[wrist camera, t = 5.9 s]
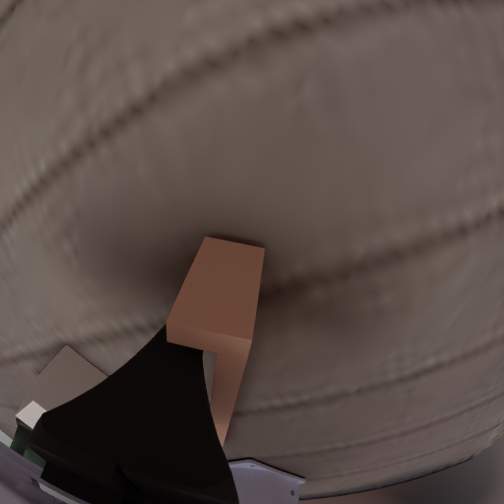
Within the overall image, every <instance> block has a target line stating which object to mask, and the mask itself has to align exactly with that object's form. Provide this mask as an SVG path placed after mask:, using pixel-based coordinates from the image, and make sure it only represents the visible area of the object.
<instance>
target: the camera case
mask: <svg viewBox="0 0 504 504" xmlns="http://www.w3.org/2000/svg"><path fill="white" fill-rule="evenodd" d="M107 377H108V376H107V375H105V374H104V373H102V372H101V371H100V370H98V369H97V368H96V367H94V366H93V365H92V364H91V363H89V362H88V361H87V360H85V359H84V358H83V357H82V356H80V355H79V354H78V353H77V352H75V351H74V350H73V349H72V348H71V347H69V346H68V345H67V344H66V345H65V346H64V347H63V348H62V349H61V351H60V352H59V353H58V354H57V355H56V356H55V357H54V358H53V359H52V360H51V361H50V363H49V364H48V365H47V366H46V367H45V368H44V369H43V370H42V371H41V373H40V374H39V375H38V376H37V378H36V379H35V381H34V383H33V384H32V386H31V388H30V390H29V391H28V393H27V395H26V397H25V398H24V400H23V402H22V404H21V406H20V407H19V409H18V411H17V413H16V415H15V416H16V417H18V418H19V419H20V420H21V421H23V422H24V423H25V424H27V425H28V426H29V427H31V428H32V429H33V428H34V426H35V424H36V422H37V421H38V419H39V418H40V417H41V415H42V413H44V412H47V411H49V410H51V409H53V408H55V407H58V406H60V405H62V404H64V403H66V402H68V401H70V400H72V399H74V398H76V397H77V396H79V395H81V394H83V393H84V392H86V391H88V390H90V389H91V388H93V387H94V386H96V385H97V384H99V383H100V382H102V381H103V380H105V379H106V378H107Z"/></svg>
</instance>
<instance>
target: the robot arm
mask: <svg viewBox="0 0 504 504" xmlns="http://www.w3.org/2000/svg"><path fill="white" fill-rule="evenodd" d="M202 356H203V350H200V349H196V348H192V347H188V346H183V345H179V344H175V343H171V342H167V330H166V324H165V325H164V326H163V327H162V329H161V330H160V331H159V332H158V333H157V334H156V335H155V336H154V337H153V338H152V339H151V340H150V341H149V342H148V343H147V344H146V345H145V346H144V347H143V348H142V349H141V350H140V351H139V352H138V353H137V354H136V355H135V356H134V357H132V358H131V359H130V360H129V361H128V362H127V363H126V364H124V365H123V366H122V367H121V368H119V369H118V370H117V371H116V372H114V373H113V374H112V375H110V376H109V377H107V378H106V379H105V380H103V381H102V382H100V383H99V384H97V385H96V386H94V387H93V388H91V389H90V390H88V391H86V392H84V393H83V394H81V395H79V396H77V397H76V398H74V399H72V400H70V401H68V402H66V403H64V404H62V405H60V406H58V407H55V408H53V409H51V410H49V411H47V412H44V413H42V415H41V417H40V418H39V419H38V421H37V422H36V424H35V426H34V428H33V430H32V432H31V434H30V437H29V439H28V441H27V444H28V446H29V447H30V448H31V449H32V450H33V451H34V452H35V453H36V454H38V455H39V456H40V457H41V458H42V459H44V460H45V461H46V464H45V466H44V469H43V468H41V467H40V466H38V465H36V464H35V463H33V462H31V461H29V460H28V459H26V458H25V457H23V456H21V455H20V454H18V453H17V452H15V451H14V450H12V449H11V448H9V447H8V446H6V445H5V444H3V443H2V442H0V504H67V503H66V502H64V501H62V500H60V499H58V498H55V497H54V496H52V495H50V494H48V493H47V492H44V491H43V490H41V488H40V486H39V483H41V484H43V485H45V486H47V487H48V488H50V489H52V490H54V491H56V492H58V493H59V494H61V495H63V496H65V497H67V498H69V499H71V500H73V501H75V502H78V503H80V504H298V499H299V484H303V483H306V479H303V478H300V477H297V476H294V475H291V474H288V473H285V472H283V471H280V470H277V469H274V468H272V467H269V466H266V465H264V464H261V463H259V462H256V461H254V460H250V459H247V460H240V461H234V462H227V459H226V457H225V454H224V452H223V449H222V446H221V443H220V440H219V437H218V434H217V431H216V427H215V424H214V421H213V417H212V413H211V409H210V405H209V400H208V395H207V390H206V384H205V378H204V369H203V358H202ZM37 481H38V482H39V483H38V482H37Z"/></svg>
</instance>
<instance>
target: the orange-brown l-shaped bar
mask: <svg viewBox="0 0 504 504" xmlns="http://www.w3.org/2000/svg"><path fill="white" fill-rule="evenodd" d="M264 252H265V248H260V247H255V246H250V245H245V244H240V243H235V242H230V241H225V240H220V239H215V238H210V237H205V238H204V240H203V242H202V245H201V247H200V249H199V251H198V253H197V255H196V257H195V259H194V261H193V264H192V266H191V268H190V270H189V272H188V274H187V276H186V279H185V281H184V283H183V285H182V287H181V289H180V292H179V294H178V296H177V298H176V300H175V303H174V305H173V307H172V309H171V312H170V314H169V316H168V318H167V321H166V330H167V342H171V343H175V344H179V345H183V346H188V347H192V348H196V349H200V350H205V351H209V352H214V353H218V354H217V360H216V367H215V374H214V381H213V389H212V396H211V403H210V409H211V413H212V417H213V421H214V424H215V427H216V431H217V434H218V437H219V440H220V443H221V446H222V448H223V444H224V441H225V438H226V434H227V431H228V427H229V423H230V420H231V416H232V413H233V409H234V406H235V402H236V399H237V395H238V391H239V388H240V384H241V380H242V377H243V373H244V369H245V366H246V362H247V358H248V355H249V351H250V347H251V343H252V339H253V332H254V325H255V318H256V311H257V303H258V296H259V289H260V282H261V274H262V267H263V260H264Z"/></svg>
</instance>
